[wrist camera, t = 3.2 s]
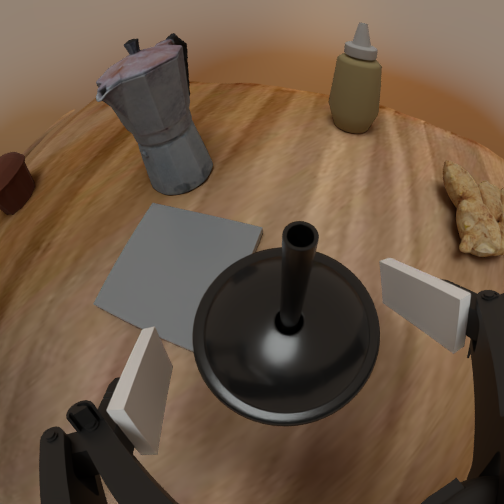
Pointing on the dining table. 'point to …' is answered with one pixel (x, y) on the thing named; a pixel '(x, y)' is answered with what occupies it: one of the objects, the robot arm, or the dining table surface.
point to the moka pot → (158, 113)
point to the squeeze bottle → (356, 84)
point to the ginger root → (476, 211)
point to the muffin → (14, 182)
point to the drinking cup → (286, 333)
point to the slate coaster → (173, 269)
